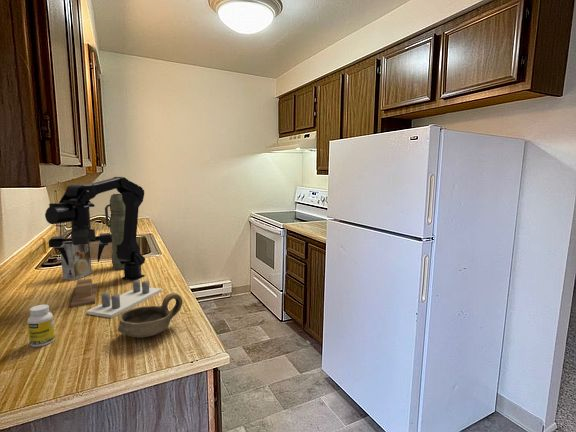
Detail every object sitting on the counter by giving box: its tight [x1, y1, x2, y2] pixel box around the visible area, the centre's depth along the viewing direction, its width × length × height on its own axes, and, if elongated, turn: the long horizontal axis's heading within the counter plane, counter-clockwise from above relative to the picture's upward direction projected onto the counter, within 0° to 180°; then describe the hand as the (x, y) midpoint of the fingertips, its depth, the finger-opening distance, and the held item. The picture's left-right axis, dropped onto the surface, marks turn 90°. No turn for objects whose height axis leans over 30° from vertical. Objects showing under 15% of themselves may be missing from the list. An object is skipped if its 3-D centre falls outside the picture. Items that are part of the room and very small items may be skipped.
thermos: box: [104, 193, 126, 271], centre depth 152 cm, size 9×12×35 cm
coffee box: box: [60, 243, 93, 281], centre depth 139 cm, size 9×6×16 cm
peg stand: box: [85, 279, 163, 319], centre depth 114 cm, size 24×10×5 cm, turn 164°
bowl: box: [117, 292, 183, 338], centre depth 92 cm, size 14×18×10 cm
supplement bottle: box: [27, 304, 56, 348], centre depth 86 cm, size 5×5×10 cm
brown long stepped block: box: [70, 278, 98, 308], centre depth 119 cm, size 20×7×6 cm, turn 29°
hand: (83, 263), depth 116 cm, fingers open, 9 cm apart
